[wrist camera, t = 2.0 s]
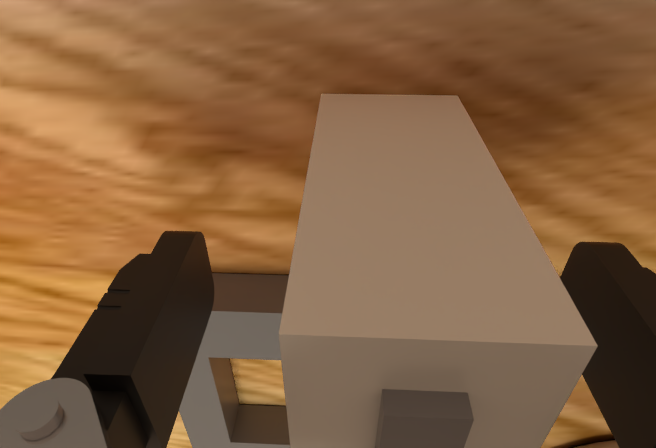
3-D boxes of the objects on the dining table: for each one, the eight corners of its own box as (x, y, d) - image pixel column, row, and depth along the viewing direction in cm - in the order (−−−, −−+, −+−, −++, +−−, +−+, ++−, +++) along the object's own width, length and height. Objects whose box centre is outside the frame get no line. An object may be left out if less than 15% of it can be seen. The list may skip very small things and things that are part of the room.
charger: (457, 95, 13) (613, 374, 5) (434, 222, 15) (514, 529, 8) (320, 93, 13) (274, 359, 5) (322, 220, 16) (293, 517, 8)
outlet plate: (569, 283, 17) (596, 330, 15) (497, 442, 24) (510, 488, 22) (161, 271, 17) (138, 315, 15) (209, 429, 24) (198, 473, 23)
